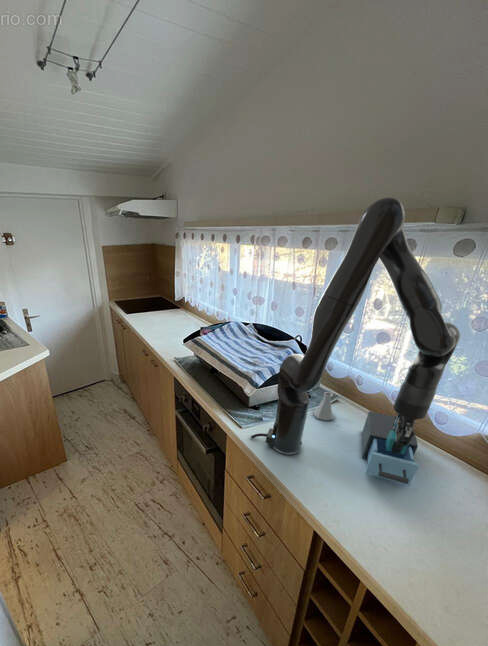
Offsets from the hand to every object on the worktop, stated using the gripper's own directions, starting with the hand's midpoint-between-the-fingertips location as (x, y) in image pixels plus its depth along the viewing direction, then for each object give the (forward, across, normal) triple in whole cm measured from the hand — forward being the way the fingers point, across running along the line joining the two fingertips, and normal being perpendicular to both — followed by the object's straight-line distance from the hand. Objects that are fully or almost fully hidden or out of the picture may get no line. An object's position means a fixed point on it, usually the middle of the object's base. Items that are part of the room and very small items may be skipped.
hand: (394, 446), depth 90 cm
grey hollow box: (+10, +11, 0) cm, 15 cm away
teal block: (0, 0, 0) cm, 0 cm away
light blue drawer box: (+9, 0, 0) cm, 9 cm away
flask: (+10, +24, +20) cm, 33 cm away
